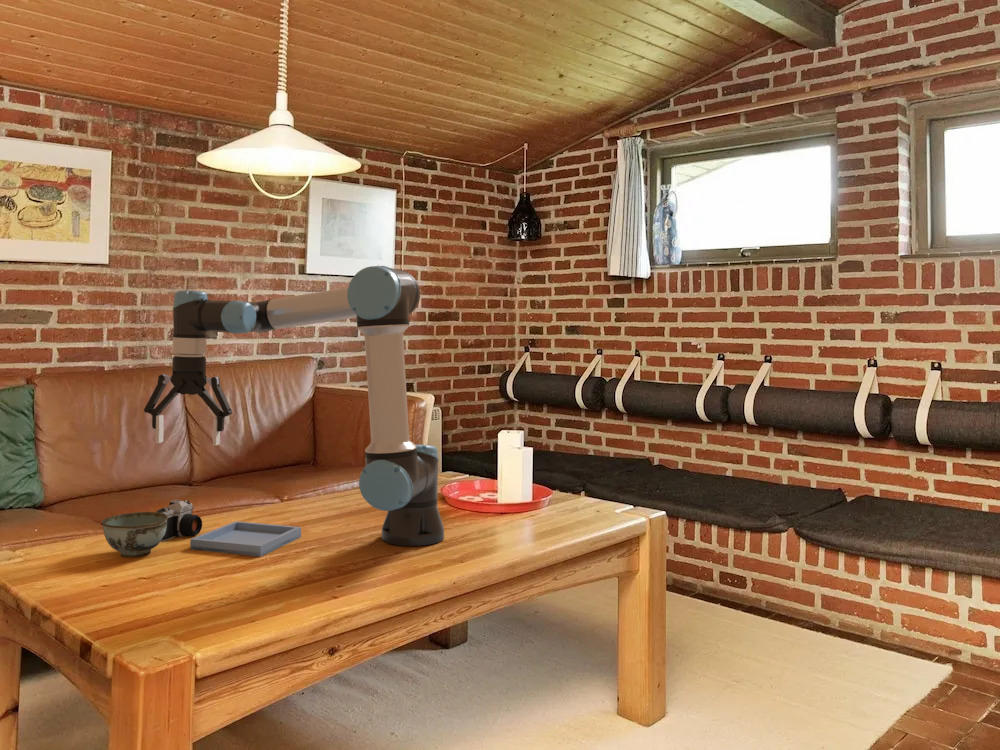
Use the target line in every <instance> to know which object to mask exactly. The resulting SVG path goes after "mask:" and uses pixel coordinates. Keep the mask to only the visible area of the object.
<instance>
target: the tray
mask: <svg viewBox="0 0 1000 750" xmlns="http://www.w3.org/2000/svg"><path fill="white" fill-rule="evenodd" d="M301 537H302V527H301V526H292V525H281V524H273V523H272V524H271V523H270V524H269V523H260V522H248V521H239V520H236V521H233V522H230V523H228V524H225V525H223V526H220V527H217V528H215V529H213V530H210V531H208V532H205V533H202V534H199V535H197V536H194V537H193V538H190V539H189V540H190V544H189V545H190V546H189V547H190V550H191V551H192V550H193V551H199V552H200V551H201V552H210V553H211V552H212V553H219V554H220V553H221V554H230V555H231V554H232V555H241V556H250V557H260V558H261V557H263V556H265V555H267V554H269V553H271V552H273V551H275V550H277V549H279V548H281V547H284V546H286V545H288V544H290V543H292V542H294V541H297V540H298V539H300V538H301Z"/></svg>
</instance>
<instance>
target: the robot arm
mask: <svg viewBox="0 0 1000 750" xmlns="http://www.w3.org/2000/svg"><path fill="white" fill-rule="evenodd" d="M420 299H421V291H420V286H419V283H418V281H417V280H416V279H415V277H414V276H413V275H412V274H410V273H409V272H408V271H405V270H403V269H398V268H393V267H389V266H386V265H372V266H366V267H364V268H362V269H360V270H358V272H356V273H355V274H354V276H353V277H352V278H351V279H350V282H349V283H348V286H347V287H343V288H335V289H329V290H324V291H318V292H317V291H316V292H312V293H305V294H298V295H297V294H296V295H292V296H286V297H280V298H274V299H267V300H266V299H265V300H260V301H243V300H218V299H217V300H213V299H212V300H211V299H208V293H207V292H205V291H200V290H199V291H198V290H177V291H176V292H175V293H174V295H173V306H172V316H173V319H172V320H173V321H172V322H173V323H172V324H173V334H172V354H173V357H172V360H171V362H172V365H171V367H172V368H171V371H172V374H171V375H167V374H166V373H163V374H159V375H158V378H157V384H156V386H155V388H154V390H153V391H152V394H151V395H150V398H149V399H148V402H147V403H146V404H145V407H144V409H143V412H144V413H146V414H147V413H148V414H150V415H151V416H152V419H151V427H152V429H153V430H155V444H161V443H163V442H164V432H165V430H164V425H165V424H164V423H165V421H164V414H162V413H163V411H164V410H165V409H166V408H167V407H168V406H169V405H170V403H171V402H172V401H173V400H174V399H175V398H176V397H177V395H179V394H180V395H190V396H193V395H194V396H195V395H197V396H198V397H200V398H201V399H202V401H203V402H204V403H205V404H206V406H208V408H209V410H211V412H212V413H213V414H214V415H215V417H214V418H213V419H212V420H213V423H212V425H213V426H212V427H213V428H212V429H213V430H212V432H213V433H212V446H218V445H220V442H221V432H223V431H224V429H225V418H226V417H228V416H232V415H233V409H232V408H231V406H230V404H229V402H228V399H227V398H226V395H225V393H224V391H223V389H222V387H221V385H220V384H221V382H220V377H219V376H212V377H207V374H206V373H207V369H206V368H207V357H205V356H204V355H206V354H207V334H208V333H209V332H210V333H211V332H213V333H226V334H235V335H237V334H239V335H240V334H248V333H257V334H258V333H259V334H260V333H261V334H262V333H268V332H272V331H274V330H280V329H281V330H282V329H287V328H294V327H301V326H307V325H308V326H309V325H314V324H321V323H328V322H336V321H342V320H348V319H349V320H350V319H356V328H357V331H359V332H360V333H361V334H363V336H364V337H363V338H364V347H365V349H364V350H365V364H366V365H365V366H366V380H367V381H366V382H367V394H368V395H367V396H368V397H367V399H368V411H369V412H368V414H369V431H370V443H369V445H368V446H367V447H365V448H364V460H365V461H364V462H365V466H364V467H363V469H362V471H361V473H360V476H359V480H358V488H359V491H360V494H361V496H362V498H363V499H364V501H366V502H367V503H368V504H369V505H370V506H371V507H373V508H374V509H376V510H378V511H385V512H386V515H385V518H384V522H383V525H382V527H381V540H382V541H383V542H384V543H386V544H389V545H395V546H405V547H419V546H420V547H421V546H429V545H434V544H437V543H440V542H442V541H443V540H444V539H445V528H444V525H443V521H442V517H441V515H440V510H439V507H438V488H439V487H438V482H439V481H438V480H439V479H438V478H439V477H438V476H439V474H438V472H439V471H438V470H439V459H440V458H439V454H438V449H437V447H436V446H434V445H431V444H430V445H429V444H419V443H418V444H415V443H414V442H413V441H412V440H410V429H409V428H410V427H409V412H408V410H409V409H408V397H407V396H408V394H407V393H408V392H407V376H406V362H405V345H404V334H405V331H407V329H408V328H409V327H410V315H411V314H412V313H414V312H415V310H416V309H417V307H418V306H419V304H420ZM207 332H208V333H207ZM170 382H171V384H172V385H173V387H172V388H171V389H170V390H169V392H168V393H167V395H166V396H165V397H164V398H163V399H162V400H161V401H160V402H159V403H158V401H159V399H160V397H161V395H163V392H164V390H165V388H166V386H167V385H168V384H169V383H170ZM207 383H208V386H210V387H211V388H212V391H213V393H214V396H215V397H216V399H217V401H218V403H217V402H216V401H215V399H214V398H213V397H212V396H211V395H210V394H209V391H208V390H207V388H206V387H205V386H206V385H207ZM157 403H158V404H157Z"/></svg>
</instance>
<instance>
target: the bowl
mask: <svg viewBox="0 0 1000 750" xmlns="http://www.w3.org/2000/svg"><path fill="white" fill-rule="evenodd" d="M167 519H168V516H167V515H166V514H163V513H158V512H156V511H137V512H128V513H122V514H117V515H112V516H108V517H105V518H104V519H102V520H101V521H100V523H101V526H102V529H103V534H104V537H105V541H106V542H107V544H108V545H109V546H110V547H111V548H112V549H113V550H115V551H117V552H120V556H121V557H122V558H127V559H128V558H130V559H133V558H141V557H142V558H143V557H146V556H149V555H150V554H151V553H152V550H153V549H155V547H157V546H158V545H159V544H160V543H162V542H161V540H162V539H163V537H164V535H165V533H166V527H167Z"/></svg>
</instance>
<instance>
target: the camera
mask: <svg viewBox="0 0 1000 750" xmlns="http://www.w3.org/2000/svg"><path fill="white" fill-rule="evenodd" d="M194 510H195V506H194V505H193V502H190V500H180V499H173V500H169V505H167V507H161V508H160V509H158V510H156V511H155V512H158V513H163V514H166V515H167V516H168V519H167V527H166V533H165V535H164V537H163V539H162V540H161V542H160V543H162V542H167V541H169V540H172V539H174V538H182V537H189V536H190V537H196V535H197V536H198V535H200V532H201V530H202V528H203V520H202V518H201V517H200V516H199V515H198V514H193V511H194Z"/></svg>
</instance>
